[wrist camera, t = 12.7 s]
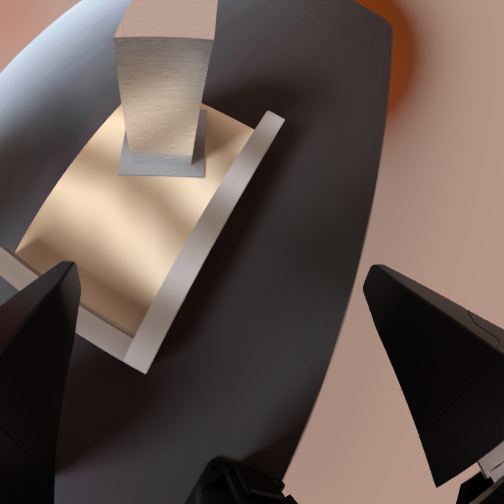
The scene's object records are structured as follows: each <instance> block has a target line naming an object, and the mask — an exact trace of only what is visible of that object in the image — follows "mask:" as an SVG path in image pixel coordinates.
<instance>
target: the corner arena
mask: <svg viewBox="0 0 504 504" xmlns="http://www.w3.org/2000/svg"><path fill="white" fill-rule="evenodd" d="M284 121H285V119H283V118H281V117H279V116H278V115H276V114H274V113H272V112H270V111H267V112H266V114H265V115H264V117H263V118H262V120H261V121H260V123H259V124H258V126H257V127H256V129H255V130H254V129H252V128H250V127H248V126H246V125H245V124H243V123H241V122H239V121H237V120H235V119H233V118H231V117H229V116H227V115H225V114H223V113H221V112H219V111H217V110H215V109H213V108H211V107H209V106H207V105H204V104H202V103H201V106H200V112H199V117H198V123H197V129H196V135H195V141H194V148H193V154H192V161H191V165H172V164H132V161H131V156H130V150H129V145H128V140H127V134H126V128H125V122H124V116H123V110H122V104H121V105H120V106H119V107H118V108H117V109H116V110H115V111H114V112H113V114H112V115H111V116H110V117H109V118H108V119H107V120H106V121H105V123H104V124H103V125H102V126H101V127H100V128H99V130H98V131H97V132H96V133H95V134H94V136H93V137H92V138H91V139H90V140H89V142H88V143H87V144H86V145H85V147H84V148H83V149H82V150H81V152H80V153H79V154H78V156H77V157H76V158H75V160H74V161H73V162H72V164H71V165H70V166H69V168H68V169H67V170H66V172H65V173H64V174H63V176H62V177H61V179H60V180H59V182H58V183H57V184H56V186H55V187H54V189H53V190H52V192H51V193H50V195H49V196H48V198H47V199H46V201H45V202H44V204H43V205H42V207H41V209H40V210H39V212H38V213H37V215H36V217H35V218H34V220H33V222H32V223H31V225H30V227H29V228H28V230H27V232H26V234H25V235H24V237H23V239H22V241H21V243H20V244H19V246H18V248H17V250H16V252H15V253H14V252H12V251H10V250H8V249H6V248H4V247H3V246H1V245H0V275H1V276H2V277H3V278H4V279H6V280H7V281H8V282H9V283H10V284H12V285H13V286H14V287H15V288H16V289H18V290H19V291H21V290H22V289H23V288H25V287H26V286H27V285H29V284H30V283H31V282H33V281H34V280H36V279H37V278H38V277H40V276H41V275H43V274H44V273H45V272H47V271H48V270H50V269H51V268H53V267H54V266H55V265H57V264H58V263H60V262H61V261H74V262H75V263H76V264H77V268H78V273H79V278H80V283H81V297H80V303H79V310H78V317H77V324H76V333H78V334H79V335H81V336H82V337H84V338H85V339H87V340H88V341H90V342H91V343H93V344H95V345H96V346H98V347H99V348H101V349H103V350H104V351H106V352H108V353H109V354H111V355H113V356H114V357H116V358H118V359H119V360H121V361H123V362H125V363H126V364H128V365H130V366H132V367H133V368H135V369H137V370H139V371H141V372H143V373H144V374H146V373H147V371H148V369H149V368H150V366H151V364H152V362H153V360H154V358H155V356H156V354H157V352H158V350H159V348H160V346H161V344H162V342H163V340H164V338H165V336H166V334H167V332H168V330H169V328H170V326H171V324H172V322H173V320H174V319H175V317H176V315H177V313H178V311H179V309H180V307H181V305H182V303H183V301H184V299H185V297H186V296H187V294H188V292H189V290H190V288H191V286H192V284H193V282H194V280H195V279H196V277H197V275H198V273H199V271H200V269H201V267H202V265H203V264H204V262H205V260H206V258H207V256H208V254H209V252H210V251H211V249H212V247H213V245H214V243H215V242H216V240H217V238H218V236H219V234H220V232H221V231H222V229H223V227H224V225H225V223H226V222H227V220H228V218H229V216H230V214H231V213H232V211H233V209H234V207H235V206H236V204H237V202H238V200H239V198H240V197H241V195H242V193H243V191H244V190H245V188H246V186H247V184H248V183H249V181H250V179H251V177H252V176H253V174H254V172H255V171H256V169H257V167H258V165H259V164H260V162H261V160H262V159H263V157H264V155H265V153H266V152H267V150H268V148H269V147H270V145H271V143H272V141H273V140H274V138H275V136H276V134H277V133H278V131H279V129H280V127H281V126H282V124H283V122H284Z"/></svg>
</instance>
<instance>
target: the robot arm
mask: <svg viewBox="0 0 504 504" xmlns="http://www.w3.org/2000/svg"><path fill="white" fill-rule="evenodd" d="M363 292H364V295H365V298H366V300H367V303H368V306H369V309H370V312H371V314H372V318H373V321H374V324H375V326H376V329H377V332H378V334H379V336H380V339H381V341H382V343H383V345H384V348H385V350H386V352H387V355H388V357H389V360H390V362H391V364H392V367H393V369H394V371H395V374H396V376H397V379H398V381H399V384H400V386H401V389H402V391H403V394H404V396H405V399H406V402H407V404H408V407H409V409H410V412H411V415H412V417H413V420H414V423H415V426H416V428H417V431H418V434H419V438H420V440H421V443H422V446H423V449H424V452H425V455H426V458H427V461H428V464H429V467H430V470H431V474H432V477H433V480H434V483H435V486H436V488H438V487H439V486H441V485H443V484H444V483H446V482H447V481H449V480H451V479H452V478H454V477H455V476H457V475H458V474H460V473H461V472H463V471H464V470H466V469H467V468H468V467H470V466H471V465H473V464H474V463H476V462H477V464H478V466H479V468H480V471H479V472H477V473H476V474H475V475H473V476H472V477H470V478H469V479H468V480H466V481H465V482H463V483H462V484H461V486H460V490H459V494H458V498H457V502H456V504H504V330H503V329H502V328H500V327H498V326H496V325H494V324H492V323H490V322H489V321H487V320H485V319H483V318H481V317H479V316H478V315H476V314H474V313H472V312H471V311H469V310H466V309H465V308H463V307H461V306H460V305H458V304H456V303H454V302H453V301H451V300H449V299H447V298H445V297H444V296H442V295H440V294H438V293H436V292H434V291H433V290H431V289H429V288H427V287H425V286H423V285H421V284H420V283H418V282H416V281H414V280H412V279H410V278H408V277H406V276H404V275H402V274H401V273H399V272H397V271H394V270H393V269H391V268H389V267H387V266H385V265H372V266H371V267H370V270H369V272H368V275H367V277H366V280H365V282H364V285H363ZM80 297H81V283H80V278H79V273H78V268H77V264H76V263H75V262H74V261H61V262H60V263H58V264H57V265H55V266H54V267H53V268H51V269H50V270H48V271H47V272H45V273H44V274H43V275H41V276H40V277H38V278H37V279H36V280H34V281H33V282H31V283H30V284H29V285H27V286H26V287H25V288H23V289H22V290H21V291H19V292H18V293H17V294H15V295H14V296H13V297H11V298H10V299H9V300H7V301H6V302H5V303H4V304H2V305H1V306H0V504H54V484H55V477H54V475H55V461H56V449H57V438H58V429H59V421H60V414H61V407H62V400H63V394H64V388H65V383H66V377H67V372H68V367H69V362H70V357H71V353H72V348H73V344H74V339H75V332H76V324H77V317H78V310H79V303H80ZM214 465H215V466H217V467H216V468H215V469H212V468H211V467H212V466H214ZM278 484H280V486H278V487H277V486H276V485H278ZM284 487H285V484H284V483H283V482H282V481H281V480H279V479H275V478H271V477H270V476H269V475H268V474H266V473H262V472H259V471H255V470H252V469H249V468H245V467H242V466H238V467H232V466H229V465H226V464H223V463H220V462H218V461H210V462H209V463H208V464H207V465H206V467H205V469H204V471H203V473H202V474H201V476H200V478H199V480H198V482H197V483H196V485H195V487H194V489H193V490H192V492H191V494H190V496H189V497H188V499H187V501H186V502H185V504H298V503H297V502H296V501H295V500H294V498H293V497H292V496H291V495H288V496H286V497H285V496H284V495H283V493H282V490H283V489H284Z"/></svg>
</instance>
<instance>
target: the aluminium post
mask: <svg viewBox="0 0 504 504" xmlns="http://www.w3.org/2000/svg"><path fill="white" fill-rule="evenodd" d="M217 2H218V0H132V1H131V3H130V5H129V7H128V9H127V11H126V13H125V15H124V17H123V19H122V21H121V23H120V25H119V27H118V30H117V32H116V34H115V36H114V45H115V55H116V65H117V73H118V81H119V89H120V96H121V103H122V110H123V116H124V122H125V128H126V134H127V140H128V145H129V150H130V156H131V161H132V164H172V165H191V161H192V154H193V148H194V141H195V135H196V129H197V123H198V117H199V112H200V106H201V101H202V95H203V90H204V85H205V80H206V75H207V70H208V65H209V60H210V56H211V51H212V47H213V42H214V34H215V23H216V12H217Z"/></svg>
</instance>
